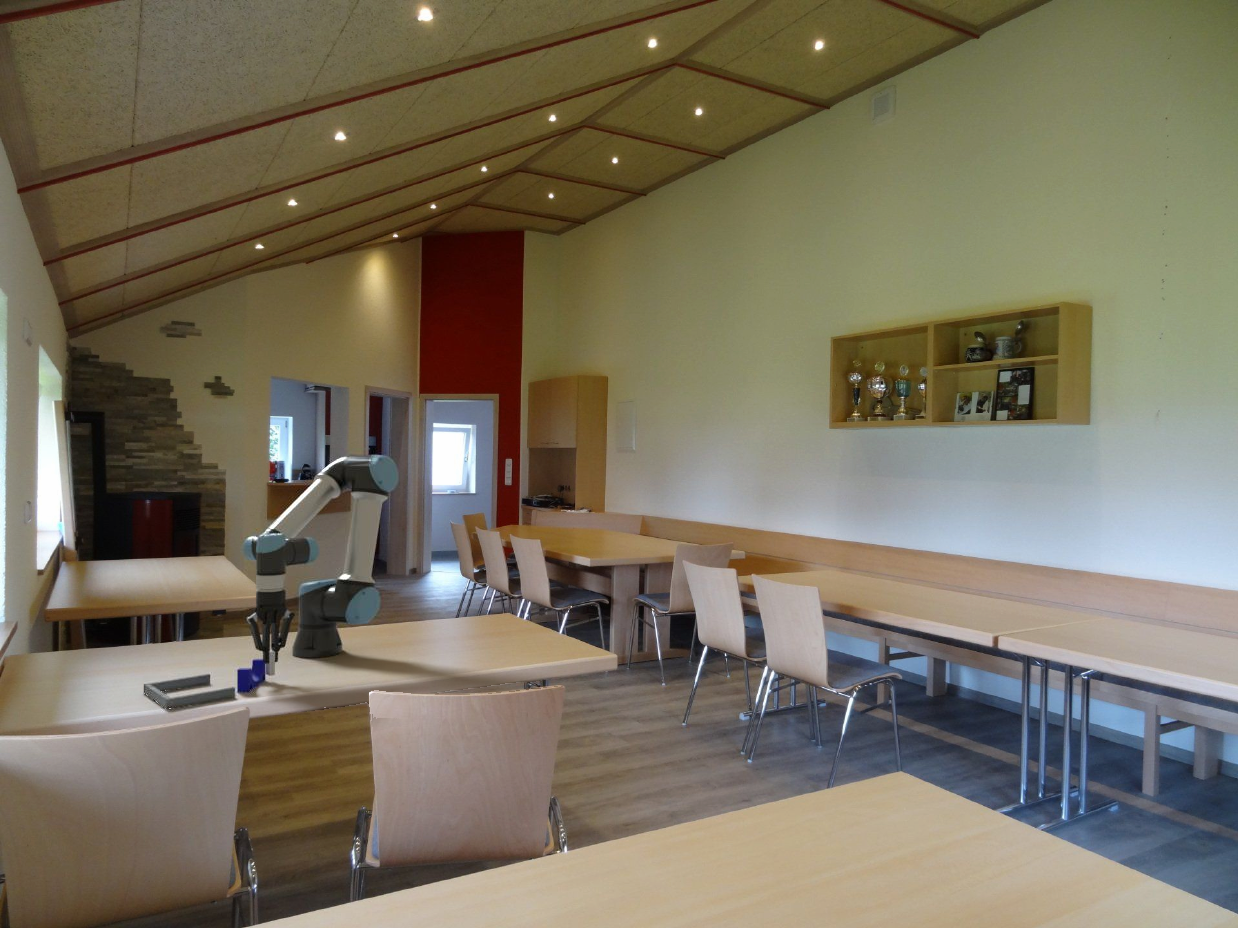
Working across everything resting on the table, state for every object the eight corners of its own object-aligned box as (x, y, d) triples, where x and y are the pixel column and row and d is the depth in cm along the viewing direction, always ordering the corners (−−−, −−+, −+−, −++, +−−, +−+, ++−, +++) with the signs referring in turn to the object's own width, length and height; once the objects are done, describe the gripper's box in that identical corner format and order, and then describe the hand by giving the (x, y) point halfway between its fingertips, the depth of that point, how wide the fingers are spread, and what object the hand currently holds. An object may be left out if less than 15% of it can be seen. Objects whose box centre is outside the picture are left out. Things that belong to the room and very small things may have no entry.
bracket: (208, 682, 225) (208, 673, 225) (234, 697, 211) (235, 687, 211) (143, 693, 214) (143, 684, 214) (166, 709, 200) (167, 699, 200)
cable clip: (248, 680, 228) (249, 659, 228) (265, 680, 228) (265, 658, 228) (231, 692, 216) (231, 669, 216) (248, 692, 216) (249, 669, 216)
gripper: (288, 585, 234) (287, 668, 234) (241, 590, 225) (241, 676, 225) (299, 588, 229) (299, 672, 229) (252, 593, 220) (251, 681, 220)
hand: (270, 674), depth 227 cm, fingers closed
